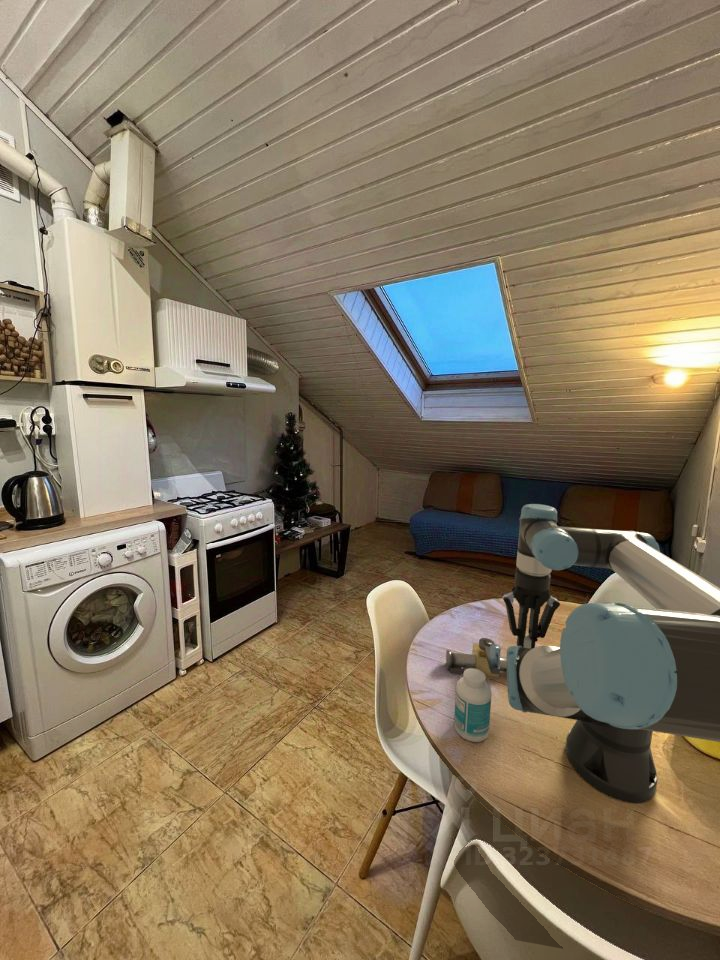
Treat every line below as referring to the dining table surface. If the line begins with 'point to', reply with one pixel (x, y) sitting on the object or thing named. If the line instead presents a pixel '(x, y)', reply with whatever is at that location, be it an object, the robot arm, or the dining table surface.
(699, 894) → the dining table surface
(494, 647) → the lever
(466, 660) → the pipe valve
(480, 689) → the pill bottle
